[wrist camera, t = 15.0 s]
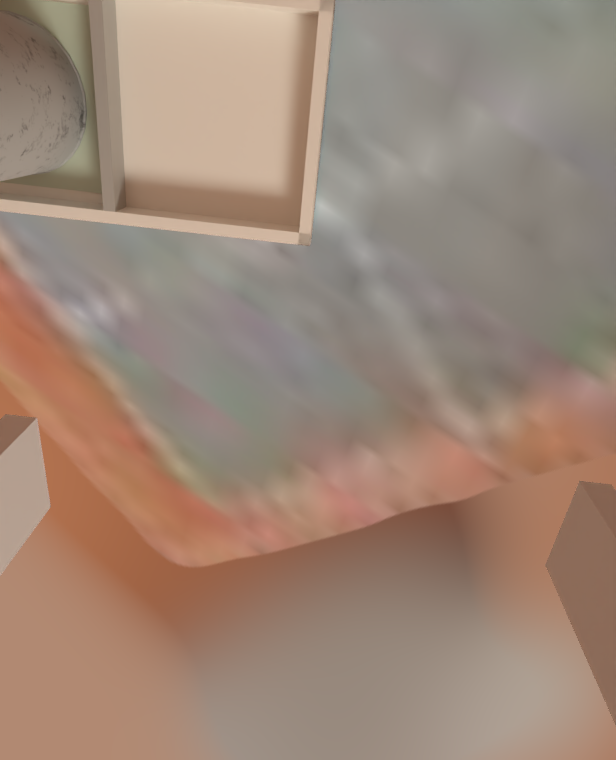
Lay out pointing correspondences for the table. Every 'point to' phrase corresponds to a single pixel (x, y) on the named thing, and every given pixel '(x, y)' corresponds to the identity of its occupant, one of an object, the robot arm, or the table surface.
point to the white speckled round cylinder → (37, 100)
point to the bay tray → (189, 115)
